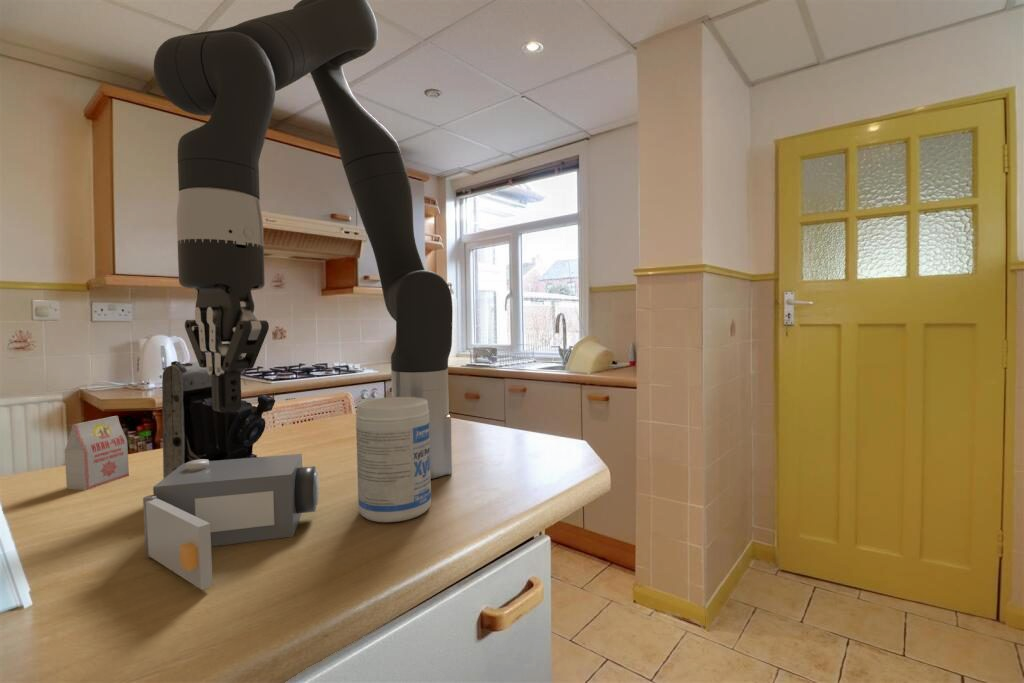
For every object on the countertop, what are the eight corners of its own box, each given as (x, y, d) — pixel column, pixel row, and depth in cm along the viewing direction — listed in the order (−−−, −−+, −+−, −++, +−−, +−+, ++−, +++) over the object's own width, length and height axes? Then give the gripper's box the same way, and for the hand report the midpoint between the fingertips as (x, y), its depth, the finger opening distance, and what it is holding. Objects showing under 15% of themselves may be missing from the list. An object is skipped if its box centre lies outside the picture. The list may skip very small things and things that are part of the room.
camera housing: (321, 505, 67) (319, 446, 66) (313, 534, 58) (311, 466, 58) (186, 520, 62) (183, 457, 62) (155, 554, 54) (152, 480, 53)
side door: (213, 586, 47) (211, 520, 46) (191, 595, 45) (188, 528, 45) (156, 550, 54) (154, 494, 53) (136, 558, 52) (133, 499, 52)
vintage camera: (253, 510, 67) (254, 366, 66) (159, 498, 70) (159, 360, 69) (298, 487, 76) (299, 361, 75) (213, 477, 79) (214, 356, 78)
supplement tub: (433, 521, 62) (431, 406, 61) (355, 529, 60) (352, 410, 59) (429, 494, 71) (427, 394, 70) (361, 500, 69) (358, 397, 68)
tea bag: (66, 488, 75) (62, 424, 74) (110, 474, 81) (107, 415, 81) (86, 490, 74) (82, 425, 74) (129, 475, 81) (125, 416, 80)
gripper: (152, 242, 50) (158, 409, 51) (213, 229, 43) (220, 425, 43) (228, 250, 56) (232, 399, 57) (293, 240, 49) (297, 412, 50)
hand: (227, 410), depth 50 cm, fingers closed
